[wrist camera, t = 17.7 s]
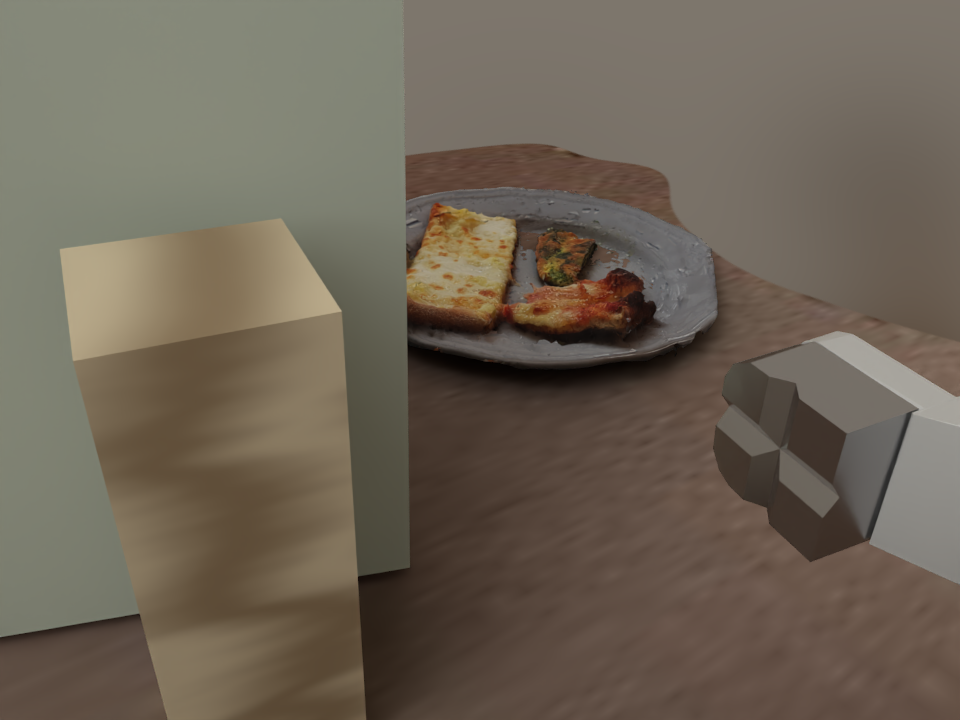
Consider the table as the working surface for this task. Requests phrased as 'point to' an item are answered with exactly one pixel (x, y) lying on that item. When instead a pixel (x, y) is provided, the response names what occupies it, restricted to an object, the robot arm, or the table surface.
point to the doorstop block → (226, 465)
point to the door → (186, 207)
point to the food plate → (551, 279)
